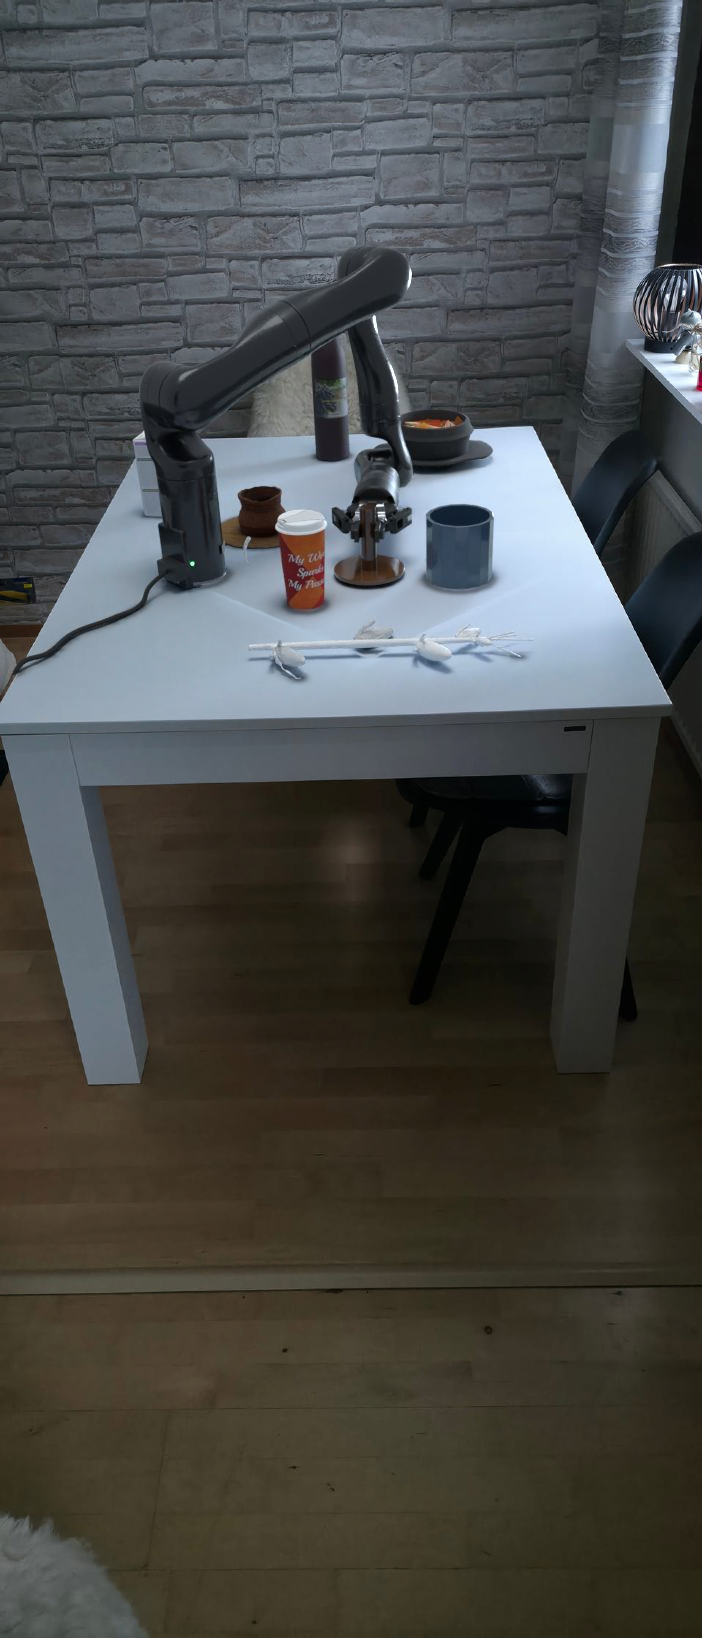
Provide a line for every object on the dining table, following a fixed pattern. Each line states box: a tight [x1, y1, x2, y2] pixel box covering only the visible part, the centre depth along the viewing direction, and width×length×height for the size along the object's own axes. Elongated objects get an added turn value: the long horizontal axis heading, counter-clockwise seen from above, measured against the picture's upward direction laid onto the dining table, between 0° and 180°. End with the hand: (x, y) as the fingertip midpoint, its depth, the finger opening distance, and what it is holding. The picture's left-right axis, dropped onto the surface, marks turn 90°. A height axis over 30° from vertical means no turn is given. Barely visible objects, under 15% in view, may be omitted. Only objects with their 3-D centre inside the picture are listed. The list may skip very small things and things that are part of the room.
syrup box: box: [132, 430, 162, 518], centre depth 207 cm, size 6×6×14 cm
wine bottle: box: [310, 336, 351, 462], centre depth 227 cm, size 7×7×30 cm
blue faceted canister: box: [425, 503, 495, 590], centre depth 177 cm, size 10×10×10 cm
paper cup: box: [275, 509, 328, 611], centre depth 169 cm, size 8×8×14 cm
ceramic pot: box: [221, 485, 287, 549], centre depth 199 cm, size 18×18×7 cm
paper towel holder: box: [333, 504, 406, 586], centre depth 178 cm, size 11×11×11 cm
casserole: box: [373, 409, 494, 469], centre depth 228 cm, size 25×19×8 cm
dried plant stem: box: [243, 537, 535, 680], centre depth 154 cm, size 12×19×40 cm
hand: (366, 536), depth 174 cm, fingers closed on paper towel holder, 2 cm apart
